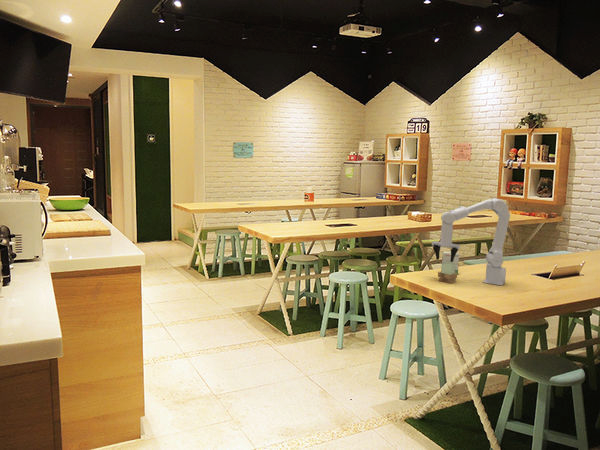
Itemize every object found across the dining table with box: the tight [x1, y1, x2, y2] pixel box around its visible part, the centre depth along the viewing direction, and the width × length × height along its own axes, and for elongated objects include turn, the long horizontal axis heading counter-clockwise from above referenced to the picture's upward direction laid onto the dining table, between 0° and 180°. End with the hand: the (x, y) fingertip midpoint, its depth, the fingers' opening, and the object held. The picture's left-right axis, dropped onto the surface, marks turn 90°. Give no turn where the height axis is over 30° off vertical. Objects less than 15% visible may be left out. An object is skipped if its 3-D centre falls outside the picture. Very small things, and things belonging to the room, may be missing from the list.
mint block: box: [440, 262, 455, 275], centre depth 265 cm, size 5×5×5 cm
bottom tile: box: [438, 277, 457, 284], centre depth 266 cm, size 7×7×2 cm
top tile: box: [437, 271, 458, 280], centre depth 266 cm, size 7×7×2 cm
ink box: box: [440, 251, 460, 276], centre depth 284 cm, size 9×5×12 cm, turn 84°
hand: (444, 260), depth 267 cm, fingers open, 7 cm apart
